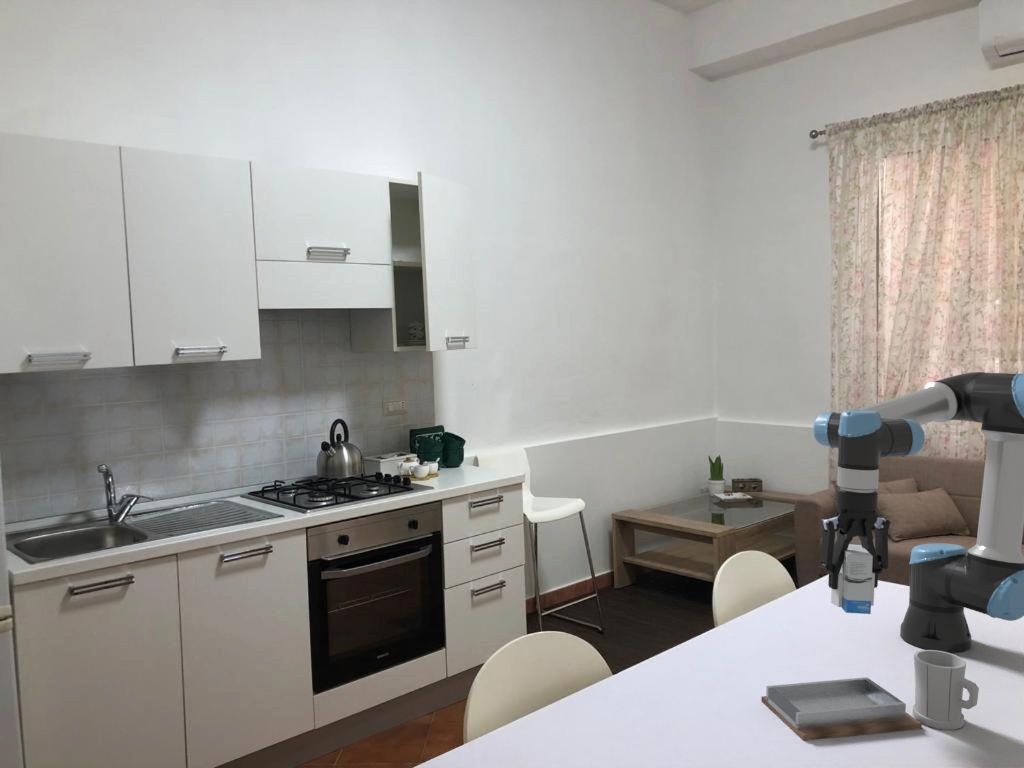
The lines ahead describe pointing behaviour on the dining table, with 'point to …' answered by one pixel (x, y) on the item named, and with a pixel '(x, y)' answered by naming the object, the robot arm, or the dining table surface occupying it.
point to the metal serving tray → (834, 703)
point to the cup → (941, 689)
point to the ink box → (857, 580)
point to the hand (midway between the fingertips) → (852, 603)
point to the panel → (850, 727)
